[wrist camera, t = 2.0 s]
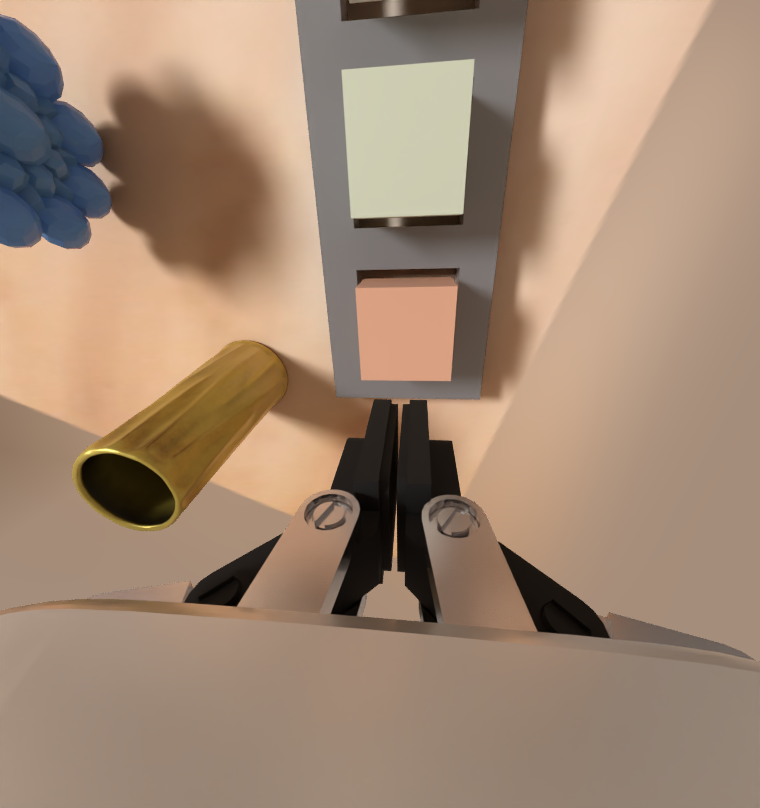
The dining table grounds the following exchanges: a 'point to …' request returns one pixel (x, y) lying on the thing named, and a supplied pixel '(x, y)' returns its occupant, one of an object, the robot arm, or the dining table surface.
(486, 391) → the dining table surface
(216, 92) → the dining table surface
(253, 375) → the vase
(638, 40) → the dining table surface
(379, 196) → the key sage
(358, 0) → the key ivory
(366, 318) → the key terracotta
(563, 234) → the dining table surface
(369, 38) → the keypad board
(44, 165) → the blue flower rosette
